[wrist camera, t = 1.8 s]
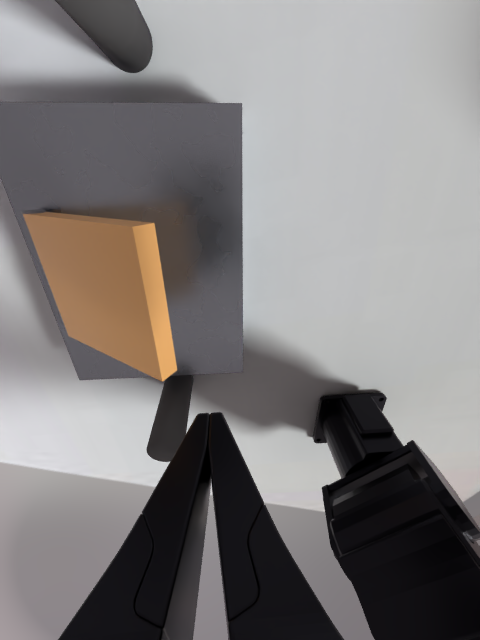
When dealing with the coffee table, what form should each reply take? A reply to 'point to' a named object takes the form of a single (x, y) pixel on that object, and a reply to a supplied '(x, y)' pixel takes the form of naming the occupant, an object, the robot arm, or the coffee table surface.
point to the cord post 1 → (114, 30)
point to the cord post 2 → (170, 418)
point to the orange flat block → (107, 286)
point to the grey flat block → (143, 208)
